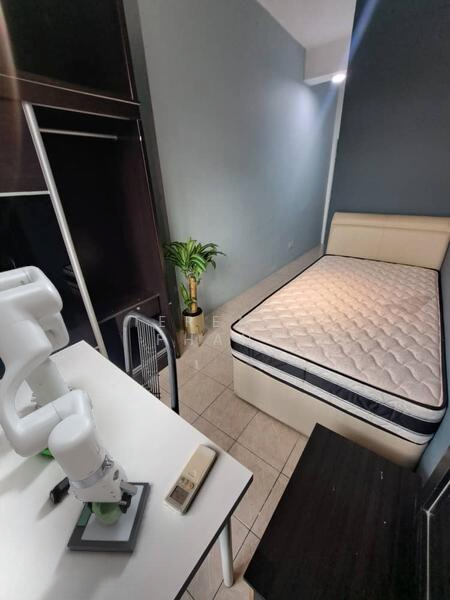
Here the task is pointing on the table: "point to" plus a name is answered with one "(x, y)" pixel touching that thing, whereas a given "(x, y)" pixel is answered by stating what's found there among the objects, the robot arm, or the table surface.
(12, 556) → the table surface
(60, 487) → the electric trimmer
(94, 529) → the scale
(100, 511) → the bowl
